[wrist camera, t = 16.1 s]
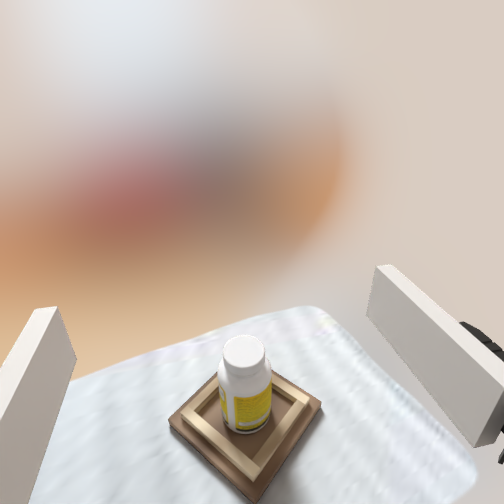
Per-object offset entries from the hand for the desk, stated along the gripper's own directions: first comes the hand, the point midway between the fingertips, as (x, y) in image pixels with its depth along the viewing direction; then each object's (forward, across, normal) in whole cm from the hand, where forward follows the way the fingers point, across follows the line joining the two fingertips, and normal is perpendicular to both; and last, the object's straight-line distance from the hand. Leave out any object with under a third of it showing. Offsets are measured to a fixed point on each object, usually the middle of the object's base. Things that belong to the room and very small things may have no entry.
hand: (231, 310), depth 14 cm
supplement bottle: (+12, +2, -24) cm, 27 cm away
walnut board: (+12, +3, -25) cm, 28 cm away
